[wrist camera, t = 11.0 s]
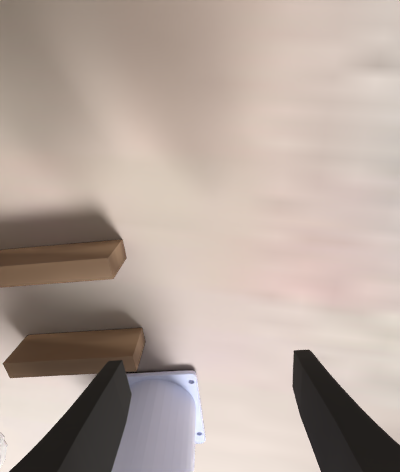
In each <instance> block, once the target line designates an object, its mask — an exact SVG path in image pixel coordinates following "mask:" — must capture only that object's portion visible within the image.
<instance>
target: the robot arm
mask: <svg viewBox="0 0 400 472" xmlns="http://www.w3.org/2000/svg"><path fill="white" fill-rule="evenodd" d="M293 390H294V394H295V398H296V402H297V405H298V409H299V413H300V416H301V419H302V422H303V424H304V427H305V430H306V432H307V435H308V438H309V440H310V443H311V446H312V449H313V451H314V454H315V457H316V459H317V462H318V465H319V467H320V470H321V472H400V445H399V444H398V443H397V442H396V441H394V440H393V439H392V438H391V437H390V436H389V435H388V434H387V433H386V432H385V431H384V430H383V429H382V428H381V427H379V426H378V425H377V424H376V423H375V422H374V421H373V420H372V419H371V418H370V417H369V416H368V415H367V414H366V413H365V412H364V411H363V410H362V409H361V408H360V407H359V405H358V404H357V403H356V402H355V401H354V400H353V399H352V398H351V397H350V396H349V395H348V394H347V393H346V392H345V390H344V389H343V388H342V387H341V386H340V385H339V384H338V383H337V382H336V381H335V379H334V378H333V377H332V376H331V375H330V374H329V372H328V371H327V370H326V369H325V368H324V366H323V365H322V364H321V363H320V362H319V360H318V359H317V358H316V357H315V355H314V354H313V353H312V352H311V351H310V350H295V351H294V362H293ZM204 442H205V430H204V423H203V416H202V409H201V402H200V395H199V388H198V381H197V374H196V372H195V371H192V370H186V371H167V372H148V373H129V374H126V372H125V368H124V364H123V361H122V360H116V361H108V362H107V363H106V364H105V366H104V367H103V368H102V369H101V371H100V372H99V373H98V374H97V376H96V377H95V378H94V379H93V381H92V382H91V383H90V384H89V386H88V387H87V388H86V389H85V391H84V392H83V393H82V394H81V395H80V397H79V398H78V399H77V400H76V401H75V403H74V404H73V405H72V406H71V407H70V409H69V410H68V411H67V412H66V413H65V414H64V415H63V417H62V418H61V419H60V420H59V421H58V422H57V423H56V424H55V425H54V427H53V428H52V429H51V430H50V431H49V432H48V433H47V434H46V435H45V436H44V437H43V438H42V440H41V441H40V442H39V443H38V444H37V445H36V446H35V447H34V448H33V449H32V450H31V451H30V452H29V453H28V454H27V455H26V456H25V457H24V458H23V459H22V460H21V461H20V462H19V463H18V464H17V465H16V466H14V467H13V468H12V469H11V470H10V471H9V472H194V463H195V444H198V443H204Z"/></svg>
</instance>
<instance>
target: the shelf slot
mask: <svg viewBox="0 0 400 472" xmlns="http://www.w3.org/2000/svg"><path fill="white" fill-rule="evenodd" d="M125 260H126V253H125V249H124V245H123V240H110V241H98V242H86V243H74V244H63V245H51V246H39V247H27V248H15V249H4V250H0V287H13V286H26V285H39V284H53V283H66V282H79V281H92V280H106V279H114V277H115V275H116V274H117V272H118V271H119V269H120V268H121V266H122V264H123V263H124V261H125ZM144 345H145V338H144V333H143V329H142V328H131V329H115V330H99V331H83V332H68V333H52V334H36V335H27V336H26V338H25V339H24V340H23V341H22V342H21V343H20V344H19V346H18V347H17V348H16V349H15V350H14V351H13V352H12V354H11V355H10V356H9V357H8V358H7V359H6V360H5V362H4V363H3V365H4V367H5V369H6V371H7V373H8V375H9V377H10V378H20V377H39V376H58V375H77V374H96V373H99V372H100V371H101V369H102V368H103V367H104V366H105V364H106V363H107V362H108V361H116V360H122V361H123V364H124V368H125V372H134V371H137V369H138V365H139V362H140V358H141V355H142V352H143V348H144Z"/></svg>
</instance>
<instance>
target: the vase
mask: <svg viewBox="0 0 400 472" xmlns="http://www.w3.org/2000/svg"><path fill="white" fill-rule="evenodd" d="M6 450H7V444H6V442H5V441H4V436H3V435H2V434H1V433H0V467H1V466H2V464H3V463H4V461H5V458H6Z"/></svg>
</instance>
